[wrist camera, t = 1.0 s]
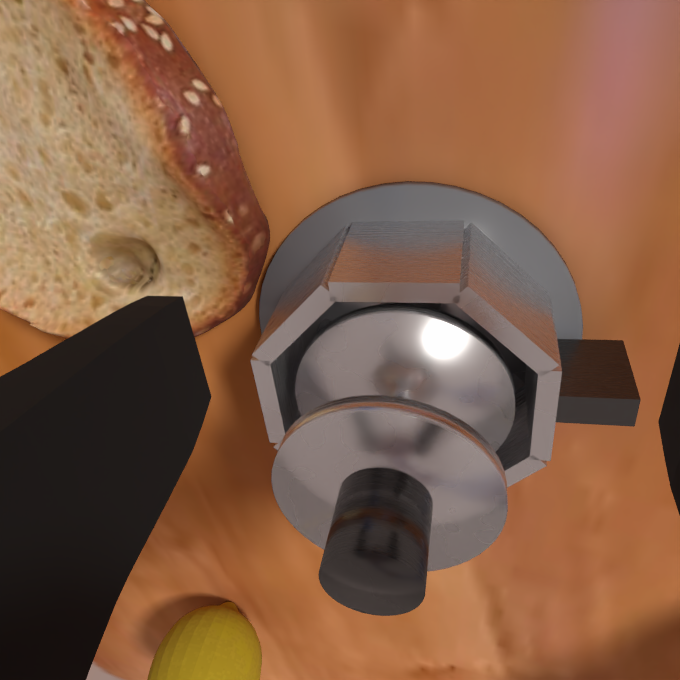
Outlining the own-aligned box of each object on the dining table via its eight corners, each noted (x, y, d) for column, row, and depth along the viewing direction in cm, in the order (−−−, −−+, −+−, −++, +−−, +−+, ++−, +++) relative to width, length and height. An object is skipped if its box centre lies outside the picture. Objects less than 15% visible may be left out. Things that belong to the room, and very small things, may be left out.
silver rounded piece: (509, 476, 20) (515, 680, 15) (313, 461, 22) (257, 643, 16) (522, 305, 16) (536, 498, 11) (283, 301, 18) (199, 472, 13)
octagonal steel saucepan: (599, 442, 22) (615, 526, 19) (307, 425, 25) (282, 497, 22) (641, 217, 17) (672, 284, 14) (269, 223, 20) (231, 281, 17)
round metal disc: (563, 453, 24) (564, 461, 23) (287, 436, 26) (285, 443, 26) (603, 175, 17) (605, 181, 17) (234, 186, 20) (230, 191, 19)
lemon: (281, 588, 33) (232, 755, 27) (275, 639, 36) (230, 798, 30) (182, 563, 33) (111, 721, 27) (185, 616, 37) (122, 768, 30)
